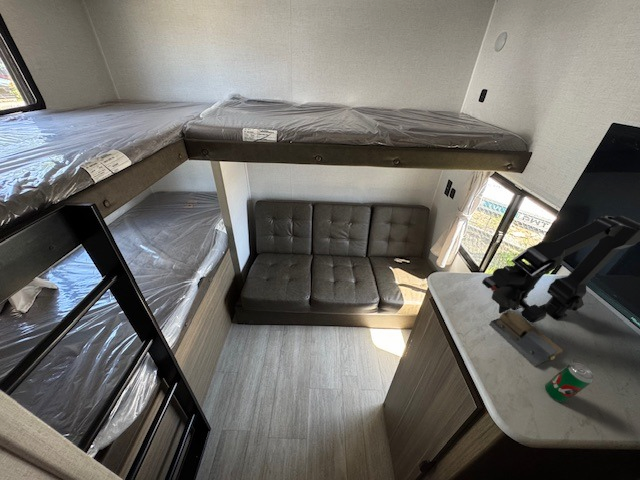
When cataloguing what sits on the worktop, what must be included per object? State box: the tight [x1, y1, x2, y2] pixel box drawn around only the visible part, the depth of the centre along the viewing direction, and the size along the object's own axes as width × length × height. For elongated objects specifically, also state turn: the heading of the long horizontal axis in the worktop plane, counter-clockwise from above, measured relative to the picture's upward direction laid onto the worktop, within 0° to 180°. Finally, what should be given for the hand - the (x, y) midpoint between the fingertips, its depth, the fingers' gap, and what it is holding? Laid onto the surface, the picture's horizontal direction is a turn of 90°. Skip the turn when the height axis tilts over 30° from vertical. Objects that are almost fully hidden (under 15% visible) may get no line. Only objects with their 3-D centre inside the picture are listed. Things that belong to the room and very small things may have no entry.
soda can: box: [544, 362, 595, 403], centre depth 67 cm, size 5×5×12 cm
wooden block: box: [499, 310, 564, 357], centre depth 84 cm, size 8×16×4 cm, turn 22°
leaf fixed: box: [488, 317, 558, 367], centre depth 82 cm, size 7×17×4 cm, turn 22°
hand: (500, 312), depth 90 cm, fingers closed
